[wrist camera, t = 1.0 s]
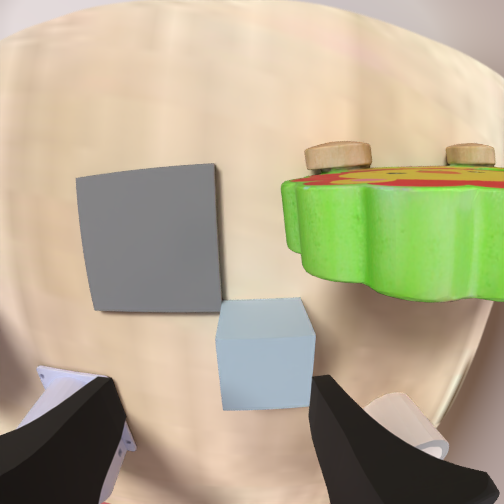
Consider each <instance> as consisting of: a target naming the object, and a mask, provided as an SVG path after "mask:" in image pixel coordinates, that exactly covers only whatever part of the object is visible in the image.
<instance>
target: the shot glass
mask: <svg viewBox="0 0 504 504" xmlns="http://www.w3.org/2000/svg"><path fill="white" fill-rule="evenodd" d="M363 410H364V411H365V412H366V413H368V414H369V415H370V416H371V417H372V418H373V419H375V420H376V421H377V422H378V423H379V424H381V425H382V426H383V427H385V428H386V429H387V430H389V431H390V432H391V433H393V434H394V435H396V436H397V437H399V438H400V439H402V440H403V441H405V442H407V443H408V444H410V445H412V446H414V447H416V448H418V449H420V450H422V451H424V452H426V453H428V454H430V455H432V456H434V457H437V458H439V459H441V460H443V459H444V458H445V456H446V455H447V453H448V449H449V443H448V442H447V441H446V440H445V439H444V437H443V436H442V435H441V434H440V433H439V431H438V430H437V429H436V428H435V427H434V425H433V424H432V423H431V422H430V421H429V419H428V418H427V417H426V416H425V415H424V413H423V412H422V411H421V410H420V409H419V408H418V406H417V405H416V404H415V403H414V402H413V400H412V399H411V398H410V397H409V396H408V395H407V394H406V393H400V392H394V393H389V394H385V395H383V396H381V397H379V398H377V399H374V400H373V401H372V402H371V403H369V404H368V405H367V406H365V407H364V409H363Z"/></svg>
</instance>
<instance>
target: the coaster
mask: <svg viewBox="0 0 504 504" xmlns="http://www.w3.org/2000/svg"><path fill="white" fill-rule="evenodd" d="M76 189H77V202H78V213H79V222H80V231H81V238H82V246H83V252H84V259H85V265H86V271H87V276H88V282H89V287H90V292H91V297H92V301H93V306H94V310H96V311H127V312H220V310H221V305H222V293H221V278H220V262H219V245H218V227H217V206H216V183H215V164H214V163H211V164H195V165H181V166H169V167H159V168H149V169H139V170H130V171H122V172H114V173H107V174H100V175H93V176H86V177H80V178H76Z"/></svg>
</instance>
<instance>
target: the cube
mask: <svg viewBox="0 0 504 504" xmlns="http://www.w3.org/2000/svg"><path fill="white" fill-rule="evenodd" d="M215 341H216V351H217V361H218V370H219V379H220V388H221V397H222V405H223V410H266V409H283V408H296V407H307V406H309V403H310V394H311V383H312V375H313V364H314V353H315V341H316V334H315V332H314V329H313V327H312V325H311V322H310V320H309V317H308V315H307V313H306V310H305V308H304V305H303V303H302V301H301V298H300V297H298V298H276V299H249V300H222V305H221V310H220V316H219V322H218V327H217V333H216V339H215Z"/></svg>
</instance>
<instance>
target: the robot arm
mask: <svg viewBox="0 0 504 504" xmlns="http://www.w3.org/2000/svg"><path fill="white" fill-rule="evenodd" d="M37 372H38V375H39V377H40V379H41V382H42V384H43V386H44V388H45V391H44V392H43V394H42V395H41V396H40V398H39V399H38V400H37V401H36V403H35V404H34V405H33V407H32V408H31V409H30V411H29V412H28V413H27V415H26V416H25V417H24V419H23V420H22V421H21V423H20V424H19V426H18V427H17V428H16V430H13V431H11V432H8V433H6V434H3V435H0V504H100V503H102V502H104V501H105V500H106V499H107V498H108V497H109V496H110V495H111V493H112V491H113V488H114V485H115V483H116V480H117V477H118V474H119V471H120V468H121V466H122V463H123V460H124V457H125V455H126V452H127V450H128V451H136V449H137V446H136V444H135V441H134V439H133V437H132V435H131V432H130V430H129V427H128V425H127V422H126V414H125V412H124V409H123V407H122V404H121V402H120V399H119V396H118V394H117V391H116V388H115V385H114V383H113V380H112V378H109V377H107V376H104V375H96V374H89V373H82V372H75V371H69V370H63V369H57V368H52V367H46V366H41V365H39V366H38V367H37ZM309 423H310V429H311V435H312V440H313V444H314V447H315V450H316V454H317V457H318V460H319V464H320V467H321V470H322V473H323V477H324V480H325V483H326V486H327V490H328V494H329V498H330V504H494V502H495V501H496V500H497V498H498V497H499V490H498V489H497V487H496V485H495V484H494V482H493V480H492V479H491V478H490V476H489V475H488V474H487V472H483V471H479V470H474V469H470V468H466V467H462V466H459V465H455V464H453V463H449V462H447V461H444V460H441V459H439V458H437V457H434V456H432V455H430V454H428V453H426V452H424V451H422V450H420V449H418V448H416V447H414V446H412V445H410V444H408V443H407V442H405V441H403V440H402V439H400V438H399V437H397V436H396V435H394V434H393V433H391V432H390V431H389V430H387V429H386V428H385V427H383V426H382V425H381V424H379V423H378V422H377V421H376V420H375V419H373V418H372V417H371V416H370V415H369V414H368V413H366V412H365V411H364V410H363V409H362V408H361V407H360V406H359V405H358V404H357V403H356V402H355V401H354V400H353V399H352V398H351V397H350V396H349V395H348V394H347V393H346V392H345V391H344V390H343V389H342V388H341V387H340V386H339V384H338V383H337V382H336V381H335V380H334V379H333V378H332V377H331V376H330V375H323V376H314V377H312V383H311V395H310V406H309Z"/></svg>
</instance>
